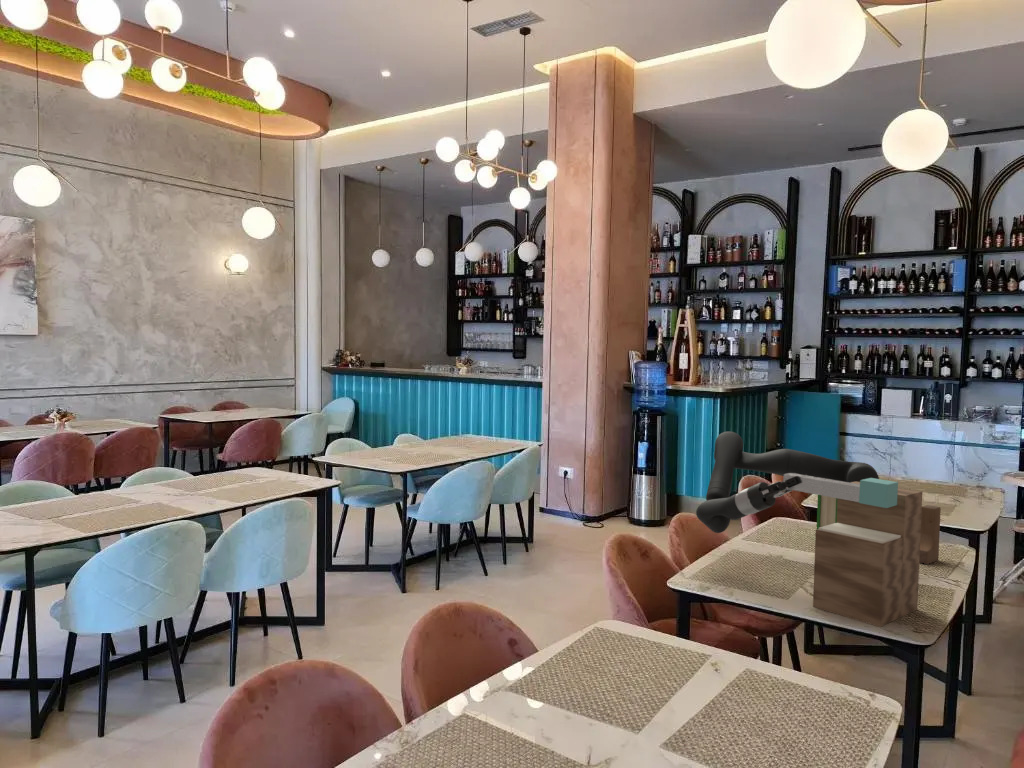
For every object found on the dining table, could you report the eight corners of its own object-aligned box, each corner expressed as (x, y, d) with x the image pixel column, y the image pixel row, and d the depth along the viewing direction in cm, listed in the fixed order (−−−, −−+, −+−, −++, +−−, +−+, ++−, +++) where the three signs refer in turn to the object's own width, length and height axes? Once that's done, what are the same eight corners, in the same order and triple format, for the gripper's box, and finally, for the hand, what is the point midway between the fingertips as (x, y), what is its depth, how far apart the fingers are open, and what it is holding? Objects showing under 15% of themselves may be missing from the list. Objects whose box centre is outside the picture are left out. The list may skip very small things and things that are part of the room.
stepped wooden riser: (851, 591, 212) (855, 481, 211) (917, 609, 198) (922, 491, 196) (812, 606, 199) (817, 489, 198) (880, 626, 185) (885, 500, 183)
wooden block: (927, 565, 240) (929, 510, 239) (912, 561, 244) (914, 507, 243) (938, 560, 246) (941, 507, 245) (924, 557, 249) (926, 504, 248)
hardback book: (837, 544, 264) (839, 478, 263) (816, 540, 269) (818, 475, 268) (853, 535, 277) (855, 472, 276) (833, 532, 282) (835, 470, 281)
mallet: (792, 486, 212) (793, 465, 212) (896, 505, 190) (898, 482, 190) (781, 488, 208) (782, 467, 208) (886, 508, 186) (887, 484, 186)
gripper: (773, 507, 221) (822, 488, 210) (746, 514, 212) (796, 493, 200) (762, 484, 224) (810, 463, 212) (736, 489, 215) (784, 468, 203)
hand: (803, 478), depth 206 cm, fingers closed on mallet, 4 cm apart
